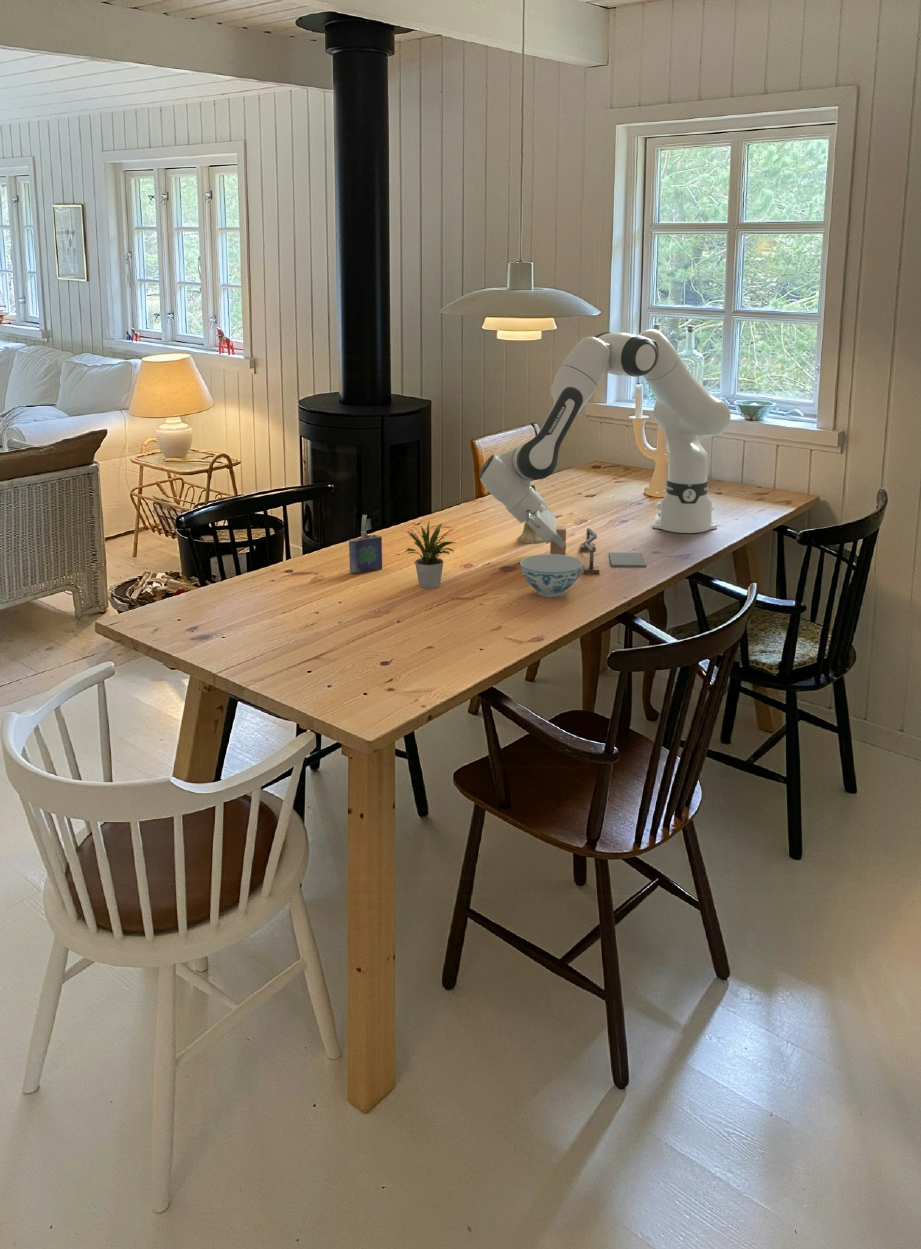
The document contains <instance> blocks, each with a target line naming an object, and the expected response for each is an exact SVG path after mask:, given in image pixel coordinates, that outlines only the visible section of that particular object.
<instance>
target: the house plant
mask: <svg viewBox="0 0 921 1249" xmlns="http://www.w3.org/2000/svg"><path fill="white" fill-rule="evenodd" d="M442 526H443V523H440V524H438V525H437V526H436V528H435V529H434V531H433V533H432V534H431V537H430V520H429V521H428V522H427V526H426V530H425V528H423V527H422V526H420V528H421V532H420V531H418V533H419V535H420V537H421V539H422V540H420V538H419V537H418V535H417V534H416V533H415V532H414V530H412V529H410V528H408V530H407V531H402V530H401V532H403V533H407V534H408V535H409V536H410V537H411V538H412V539H413V540H414V542H413V543H414V544H415V545H416V546H417V547H418V548H419V549H420V551H421V553H419V552H418V551H417V550H416V549H414V548H411V547H409V548H406V550H405V553H406V552H408V553H407V554H405V555H408V554H417V555H419V556H420V557H419V558H417V559H416V560H414V563H415V564H414V565H415V570H416V575H417V579H418V581H417V582H418V585H419V587H420V588H422V587H423V588H424V589H435V587H436V588H439V587H440V586H441V580H442V574H443V573H442V572H443V567H444V560H443V558H439V556H441V554H448V555H451V554H450V551H451V552H453V553H455V551H454V549H453V548H450V547H446V546H449V545H452V544H456V542H455V541H444V539H445V537H446V536H447V537H449V535H447V534H449V533H450V532H451V531H453V530H456V529H450V530H448V531H447V532H445V533H444V534H443V535H440V531H441V527H442ZM412 528H413V529H416V530H417V528H416V527H414V526H412ZM421 534H422V535H421ZM439 535H440V536H439ZM441 540H443V541H441ZM422 542H423V544H422ZM444 547H445V548H444Z"/></svg>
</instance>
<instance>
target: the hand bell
mask: <svg viewBox="0 0 921 1249" xmlns="http://www.w3.org/2000/svg"><path fill="white" fill-rule="evenodd" d="M530 486H531V487H532V488H533V489H534V490H535V491H536V492H537V489H536V486H535V484H530ZM517 540H518V542H520V543H524V544H528V545H529V544H533V545H534V544H542V543H545V542H544V541H543V540H542V539H541V538H540V537H539V536H538V535H537V534H536V533H535V532H534V531H533V529H532V528H531V527H530V526H529V524H528V523H527V522H526V521H524V526H523V530H522V532H521V534H520V535H519V536H518V538H517Z"/></svg>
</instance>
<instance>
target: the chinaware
mask: <svg viewBox="0 0 921 1249" xmlns="http://www.w3.org/2000/svg"><path fill="white" fill-rule="evenodd" d="M519 564H520V570H521V572H522V575H523V577H524V580H525V581H526V582H527V583H528V584H529V586H530V587H532V588H533V589H534V590H536V594H538V595H539V596H541V597H546V598H556V597H562V596H564V595H565V594H566V591H567V590H569V589H570V588H571V587H572V586H573V585H574V584H575V583H576V582H577V580H578V579H579V577H580V575H581V572H582V571H583V560H581V559H579V557H574V556H571V555H567V554H565V555H559V554H550V553H549V554H548V553H546V554H545V553H543V554H535V555H530V556H527V557H524V558H523V559H521V560H520V562H519Z"/></svg>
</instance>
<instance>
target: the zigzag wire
mask: <svg viewBox="0 0 921 1249" xmlns="http://www.w3.org/2000/svg"><path fill="white" fill-rule="evenodd" d="M597 538H598V535H597V534H596V533H595V532H594V531H593V530H592V529H591V528H590V527H587V528H586V539H585V541H584V542H583V543H580V545H579V546H580V547H581V548H580V552H589V565H582V571H583V575H600V565H594V559H595V556H594V555H595V554H594V553H595V551H596V549H597V548H596V543H592V542H593V541H595V540H596V539H597Z"/></svg>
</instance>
